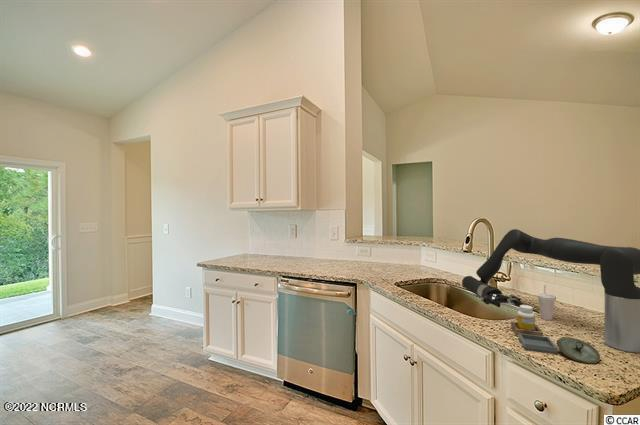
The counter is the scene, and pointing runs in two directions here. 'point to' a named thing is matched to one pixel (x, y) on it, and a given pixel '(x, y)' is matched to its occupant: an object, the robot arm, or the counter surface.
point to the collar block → (517, 331)
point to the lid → (578, 350)
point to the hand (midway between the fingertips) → (510, 305)
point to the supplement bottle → (526, 318)
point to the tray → (537, 343)
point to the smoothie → (546, 305)
